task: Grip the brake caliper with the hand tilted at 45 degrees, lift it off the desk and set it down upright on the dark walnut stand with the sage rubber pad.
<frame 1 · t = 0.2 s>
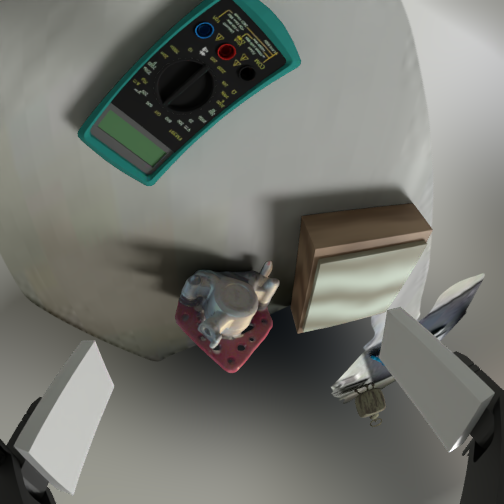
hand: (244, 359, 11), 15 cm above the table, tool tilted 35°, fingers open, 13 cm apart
walnut stand: (347, 261, 34), on the table
digital multimeter: (182, 82, 16), on the table
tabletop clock: (365, 385, 127), on the table
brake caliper: (222, 280, 33), on the table
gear: (381, 350, 75), on the table
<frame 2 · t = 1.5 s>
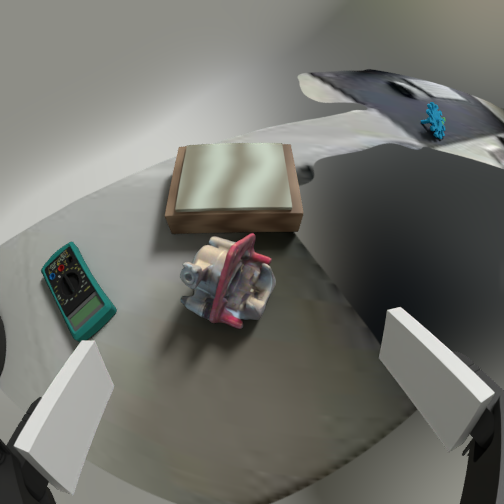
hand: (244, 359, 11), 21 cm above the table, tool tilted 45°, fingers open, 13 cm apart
walnut stand: (234, 194, 42), on the table
digital multimeter: (79, 293, 34), on the table
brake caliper: (232, 291, 35), on the table
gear: (431, 131, 57), on the table
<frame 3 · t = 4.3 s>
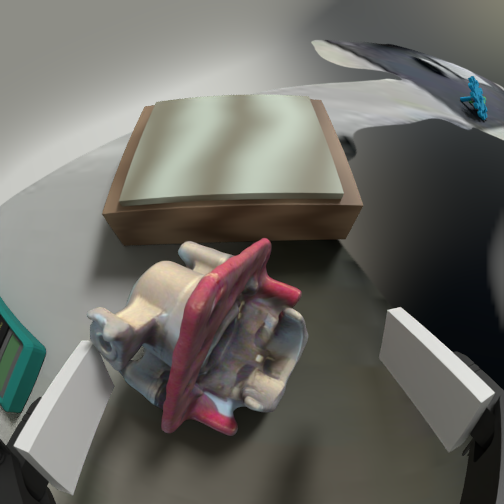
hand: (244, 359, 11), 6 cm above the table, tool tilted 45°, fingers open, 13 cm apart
walnut stand: (232, 176, 25), on the table
digital multimeter: (0, 339, 17), on the table
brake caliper: (221, 347, 18), on the table
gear: (472, 110, 39), on the table
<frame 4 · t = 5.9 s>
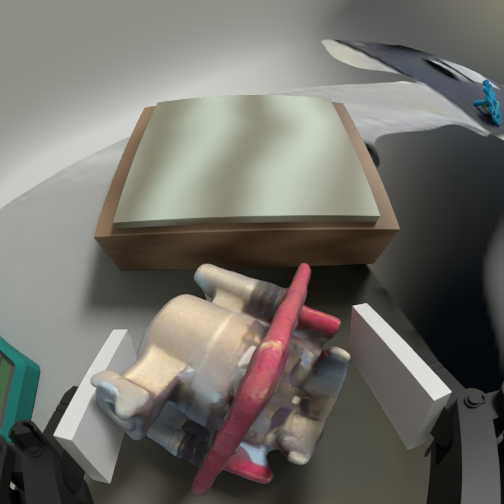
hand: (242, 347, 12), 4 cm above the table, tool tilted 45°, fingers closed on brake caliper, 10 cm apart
walnut stand: (245, 188, 22), on the table
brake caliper: (246, 383, 15), on the table, touching gripper
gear: (486, 115, 36), on the table
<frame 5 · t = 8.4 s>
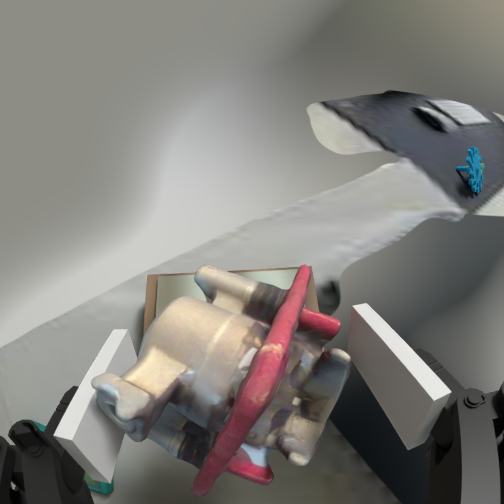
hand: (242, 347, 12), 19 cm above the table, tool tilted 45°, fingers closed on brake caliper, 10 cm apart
walnut stand: (233, 343, 30), on the table
digital multimeter: (68, 454, 22), on the table
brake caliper: (246, 384, 15), point 14 cm above the table, touching gripper
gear: (467, 180, 45), on the table
when the fingers open (10 cm above the table, at t = 11.3 s): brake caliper drops 1 cm, resting on walnut stand.
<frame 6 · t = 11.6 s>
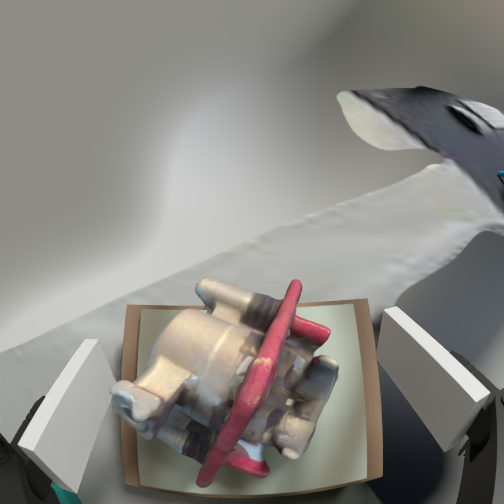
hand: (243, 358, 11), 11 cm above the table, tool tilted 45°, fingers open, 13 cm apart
walnut stand: (250, 403, 20), on the table
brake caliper: (244, 386, 16), point 5 cm above the table, touching walnut stand
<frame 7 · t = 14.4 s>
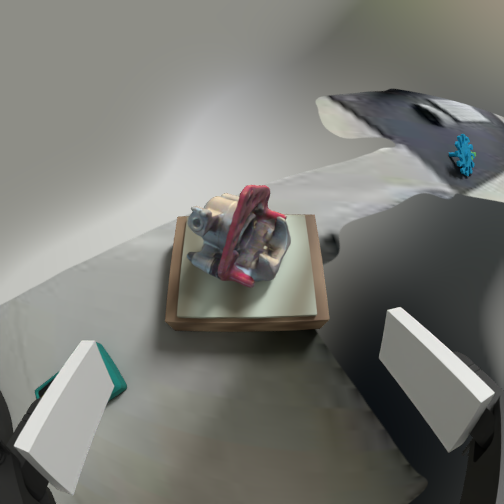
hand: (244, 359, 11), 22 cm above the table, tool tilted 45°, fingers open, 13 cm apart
walnut stand: (246, 278, 36), on the table
digital multimeter: (82, 391, 28), on the table
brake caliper: (243, 252, 32), point 5 cm above the table, touching walnut stand
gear: (458, 165, 50), on the table
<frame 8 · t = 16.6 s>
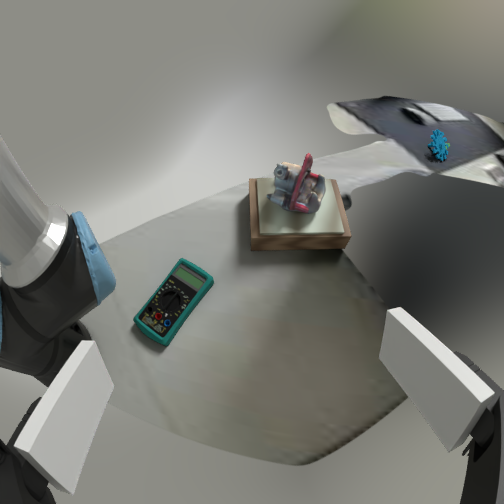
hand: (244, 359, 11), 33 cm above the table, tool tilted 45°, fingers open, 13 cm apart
walnut stand: (295, 219, 55), on the table
digital multimeter: (175, 304, 47), on the table
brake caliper: (296, 198, 51), point 5 cm above the table, touching walnut stand
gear: (435, 153, 69), on the table
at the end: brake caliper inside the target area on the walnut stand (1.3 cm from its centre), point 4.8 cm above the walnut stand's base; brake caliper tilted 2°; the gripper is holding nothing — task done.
